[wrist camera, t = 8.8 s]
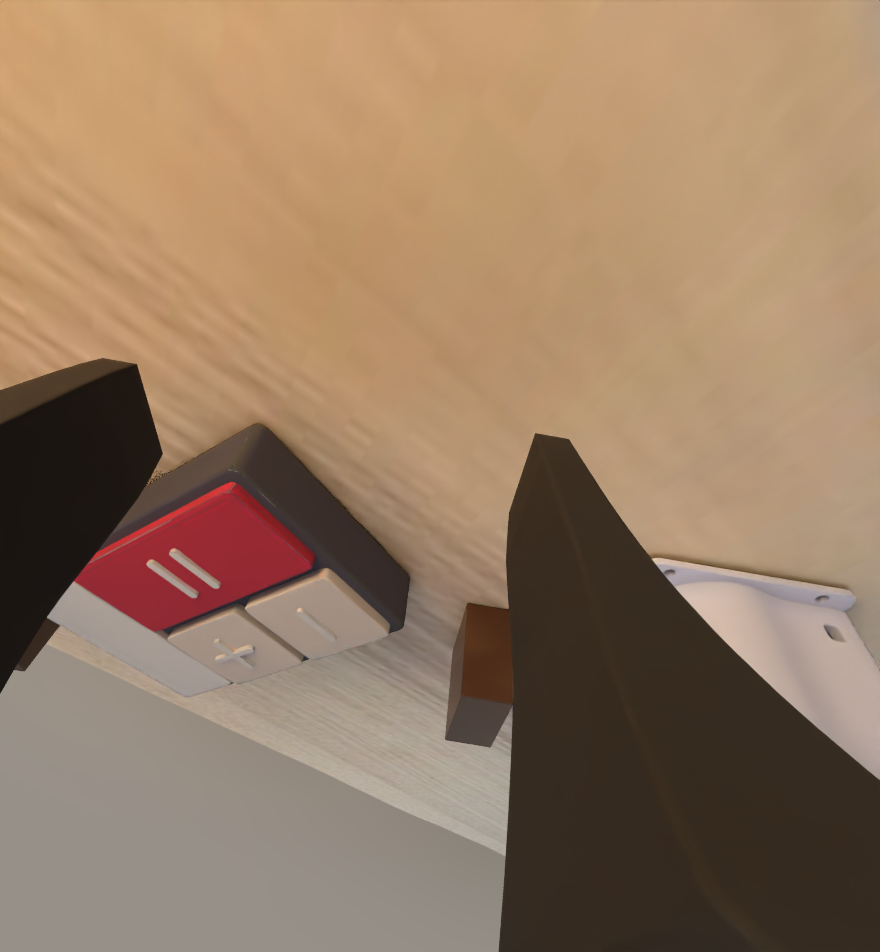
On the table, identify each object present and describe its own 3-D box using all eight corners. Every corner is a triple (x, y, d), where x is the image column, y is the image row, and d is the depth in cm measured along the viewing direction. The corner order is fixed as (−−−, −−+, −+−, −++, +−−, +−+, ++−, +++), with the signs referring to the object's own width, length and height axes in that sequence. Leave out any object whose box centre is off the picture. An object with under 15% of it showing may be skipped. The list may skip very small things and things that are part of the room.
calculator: (406, 644, 23) (183, 711, 28) (415, 569, 26) (214, 643, 31) (224, 478, 17) (-10, 603, 22) (266, 410, 20) (53, 534, 26)
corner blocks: (512, 610, 26) (513, 704, 23) (492, 658, 30) (490, 748, 26) (9, 525, 26) (-76, 608, 22) (45, 584, 29) (-23, 664, 25)
